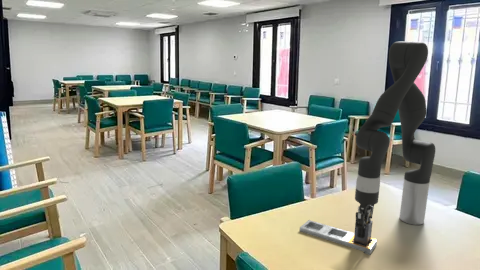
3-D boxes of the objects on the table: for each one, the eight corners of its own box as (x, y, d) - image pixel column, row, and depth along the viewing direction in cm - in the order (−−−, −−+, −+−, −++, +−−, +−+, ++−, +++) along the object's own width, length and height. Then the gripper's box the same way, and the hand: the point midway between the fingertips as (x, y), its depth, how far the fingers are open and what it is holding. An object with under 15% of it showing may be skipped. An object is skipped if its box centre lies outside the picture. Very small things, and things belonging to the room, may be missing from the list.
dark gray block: (357, 238, 130) (359, 215, 128) (370, 242, 127) (372, 219, 125) (353, 243, 126) (355, 220, 124) (366, 247, 124) (369, 224, 122)
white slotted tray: (308, 224, 143) (308, 219, 142) (376, 245, 128) (377, 239, 128) (299, 232, 136) (299, 227, 136) (369, 254, 122) (370, 248, 121)
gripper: (372, 196, 115) (367, 246, 118) (384, 184, 126) (379, 229, 130) (349, 191, 119) (345, 239, 122) (362, 180, 130) (358, 224, 134)
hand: (362, 234), depth 126 cm, fingers closed on dark gray block, 4 cm apart
